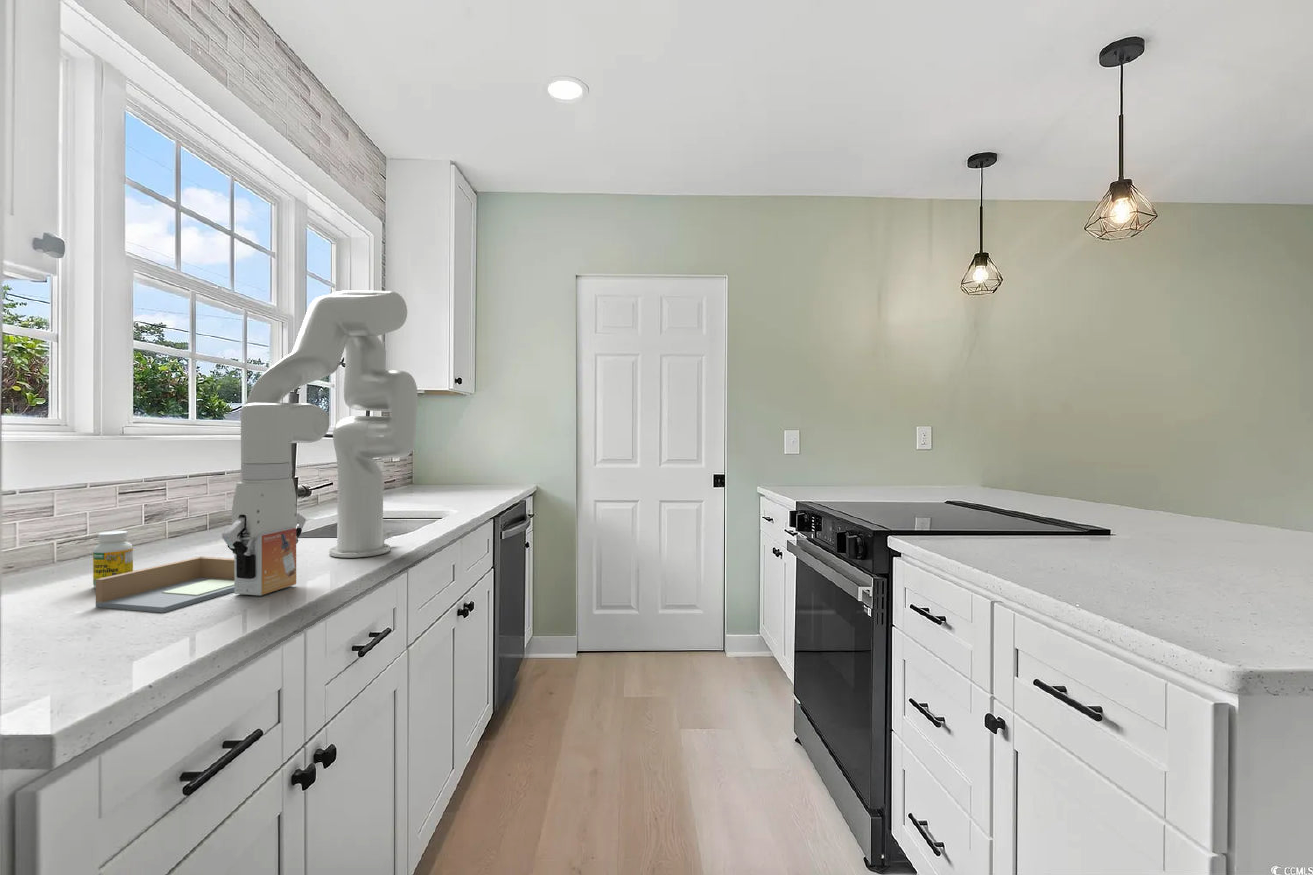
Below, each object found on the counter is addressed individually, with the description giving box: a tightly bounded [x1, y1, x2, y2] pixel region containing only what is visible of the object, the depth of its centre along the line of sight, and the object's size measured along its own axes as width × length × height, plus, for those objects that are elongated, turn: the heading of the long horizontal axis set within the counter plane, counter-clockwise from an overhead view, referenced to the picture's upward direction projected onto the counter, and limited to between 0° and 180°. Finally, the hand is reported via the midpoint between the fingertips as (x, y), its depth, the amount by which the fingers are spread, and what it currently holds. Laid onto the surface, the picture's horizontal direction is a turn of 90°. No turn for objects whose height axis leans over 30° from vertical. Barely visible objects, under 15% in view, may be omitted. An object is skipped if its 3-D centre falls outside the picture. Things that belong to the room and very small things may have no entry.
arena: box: [95, 556, 235, 613], centre depth 104 cm, size 18×13×4 cm
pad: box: [162, 579, 234, 596], centre depth 105 cm, size 9×7×1 cm
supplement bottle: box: [92, 530, 134, 589], centre depth 109 cm, size 5×5×10 cm
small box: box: [233, 528, 297, 596], centre depth 107 cm, size 8×6×10 cm
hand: (267, 571), depth 107 cm, fingers closed on small box, 8 cm apart
